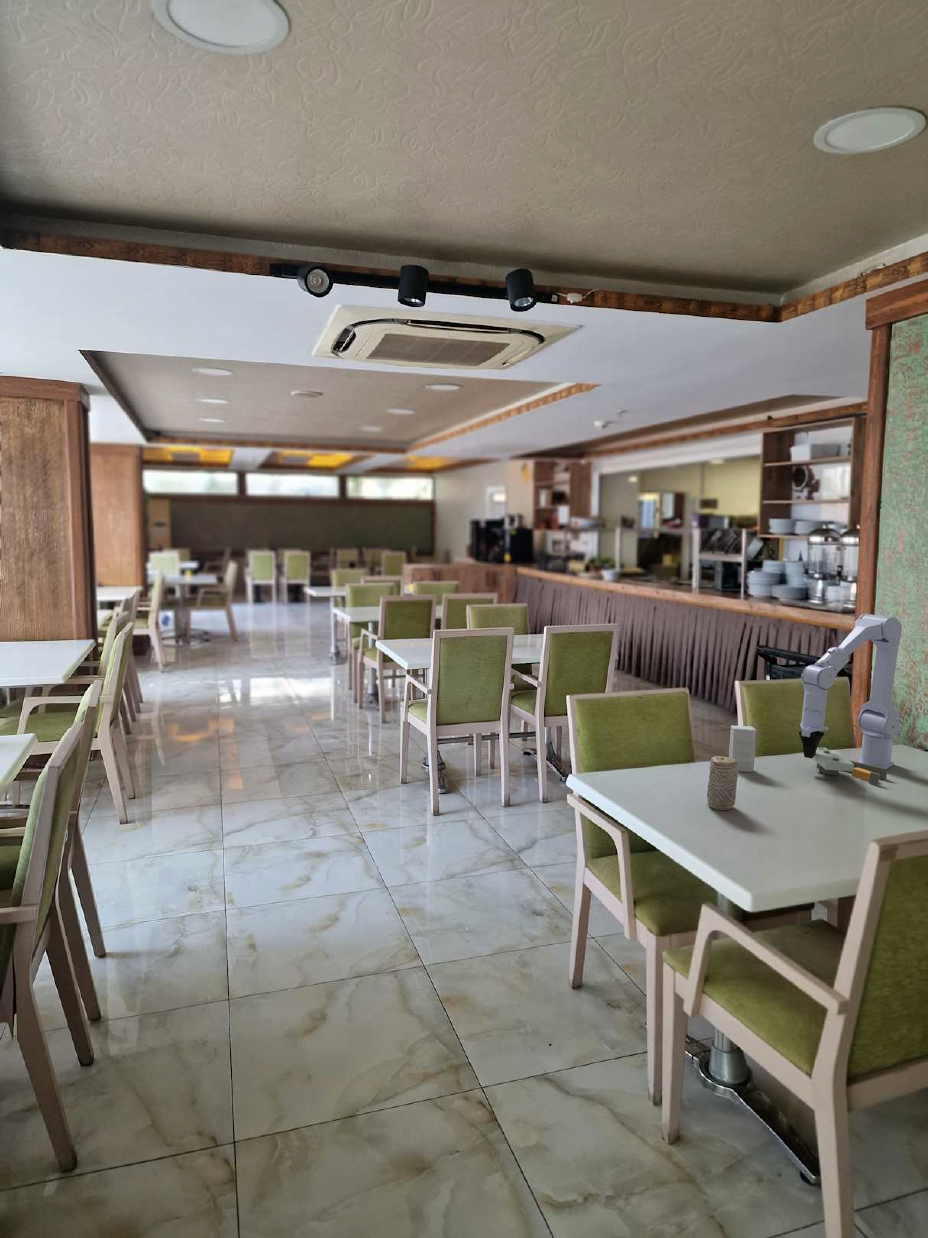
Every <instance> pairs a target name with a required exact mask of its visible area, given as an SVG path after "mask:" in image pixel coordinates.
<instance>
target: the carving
mask: <svg viewBox="0 0 928 1238" xmlns="http://www.w3.org/2000/svg"><path fill="white" fill-rule="evenodd" d="M708 775H709V776H708V781H707V791H706V798H707V799H706V801H707V805H708V806H709V808H711V809H712V810H718V811H727V810H730V809H732V808H733V807H734V806H735V805H736V799H737V796H736V795H737V786H738V785H737V783H738V779H739V771H738V763H737V761H736V759H734V758H730V757H729V756H721V755H720V756H719V755H717V756H716V755H715V756H713V757H711V758H710V762H709V774H708Z"/></svg>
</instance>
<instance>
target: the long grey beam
mask: <svg viewBox="0 0 928 1238" xmlns="http://www.w3.org/2000/svg"><path fill="white" fill-rule="evenodd" d="M848 760H849V761H850V762H852V763H853V764H854V768H861V769H865V770H868V771H871V773H870V780H869V783H868V784H870V785H874V786H879V783H880V780H884V781H886V780H887V776H888V769H887V768H883V767H878V766H874V765H869V764H865V763H860V762H857V761H856V760H850V759H848ZM818 772H819V773H823V772H824V773H823V774H828V775H832V776H835V775H836V777H838V775H839V776H840V771H838V770H825V769H824V768H823V767H822V766H821V765H820V764H819V768H818ZM848 772H849V773H852V771H848Z"/></svg>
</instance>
